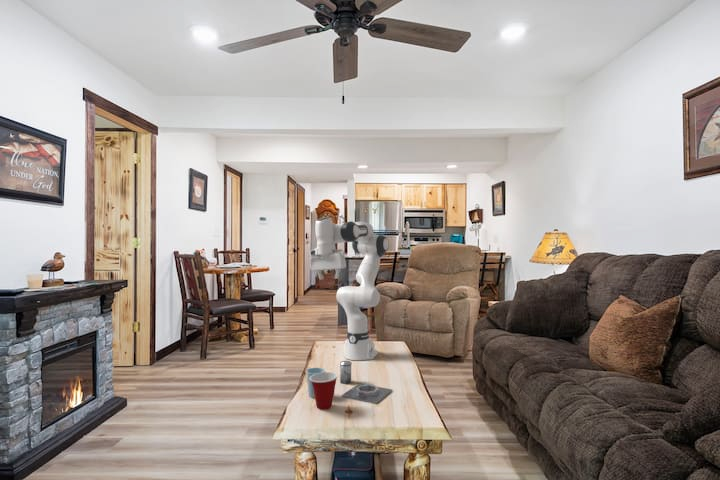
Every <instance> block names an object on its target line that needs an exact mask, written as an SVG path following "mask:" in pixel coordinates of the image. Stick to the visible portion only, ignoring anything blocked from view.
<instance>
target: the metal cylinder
mask: <svg viewBox="0 0 720 480" xmlns="http://www.w3.org/2000/svg"><path fill="white" fill-rule="evenodd" d="M339 368H340V370H339V371H340V373H339V374H340V375H339V382H340V384H342V385H349V384H352V361H350V360H342V361H340V362H339Z"/></svg>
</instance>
